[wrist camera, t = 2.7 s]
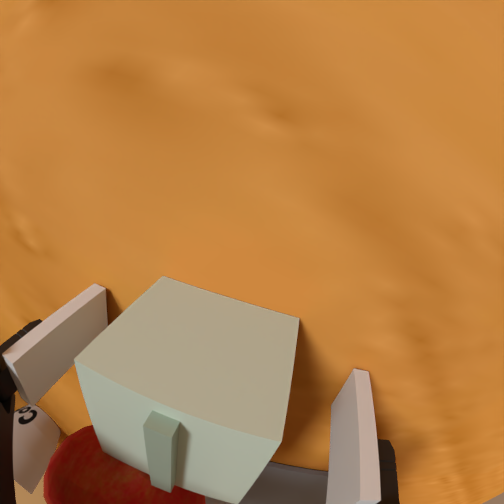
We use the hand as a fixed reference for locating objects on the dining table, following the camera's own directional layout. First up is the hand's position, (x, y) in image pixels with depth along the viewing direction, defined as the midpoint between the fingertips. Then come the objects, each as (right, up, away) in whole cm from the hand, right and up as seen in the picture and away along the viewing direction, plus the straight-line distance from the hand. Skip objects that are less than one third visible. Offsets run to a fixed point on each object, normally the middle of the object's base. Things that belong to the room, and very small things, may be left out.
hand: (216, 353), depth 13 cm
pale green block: (0, 0, 0) cm, 0 cm away
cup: (-23, -15, +11) cm, 30 cm away
